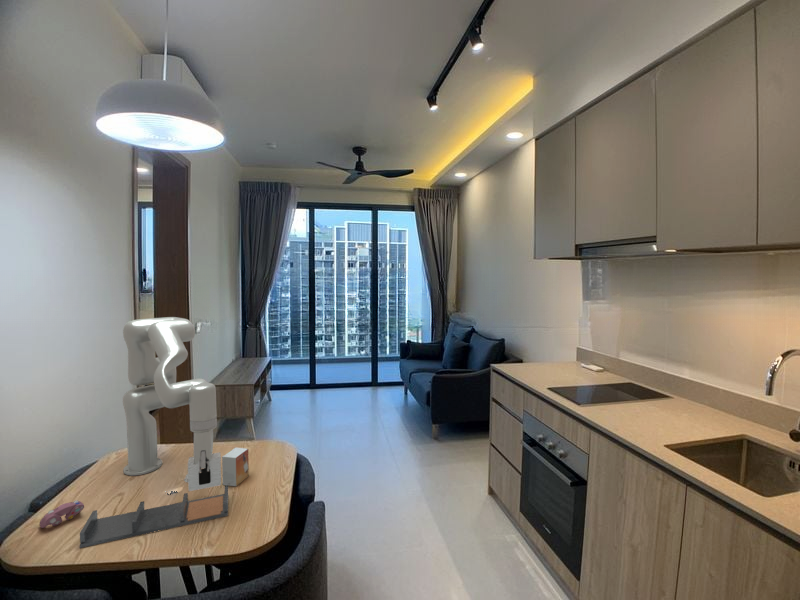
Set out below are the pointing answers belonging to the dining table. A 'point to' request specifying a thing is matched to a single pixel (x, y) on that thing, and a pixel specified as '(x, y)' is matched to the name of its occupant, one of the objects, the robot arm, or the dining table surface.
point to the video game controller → (61, 513)
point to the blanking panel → (214, 473)
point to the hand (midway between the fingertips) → (205, 479)
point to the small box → (235, 466)
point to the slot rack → (152, 519)
